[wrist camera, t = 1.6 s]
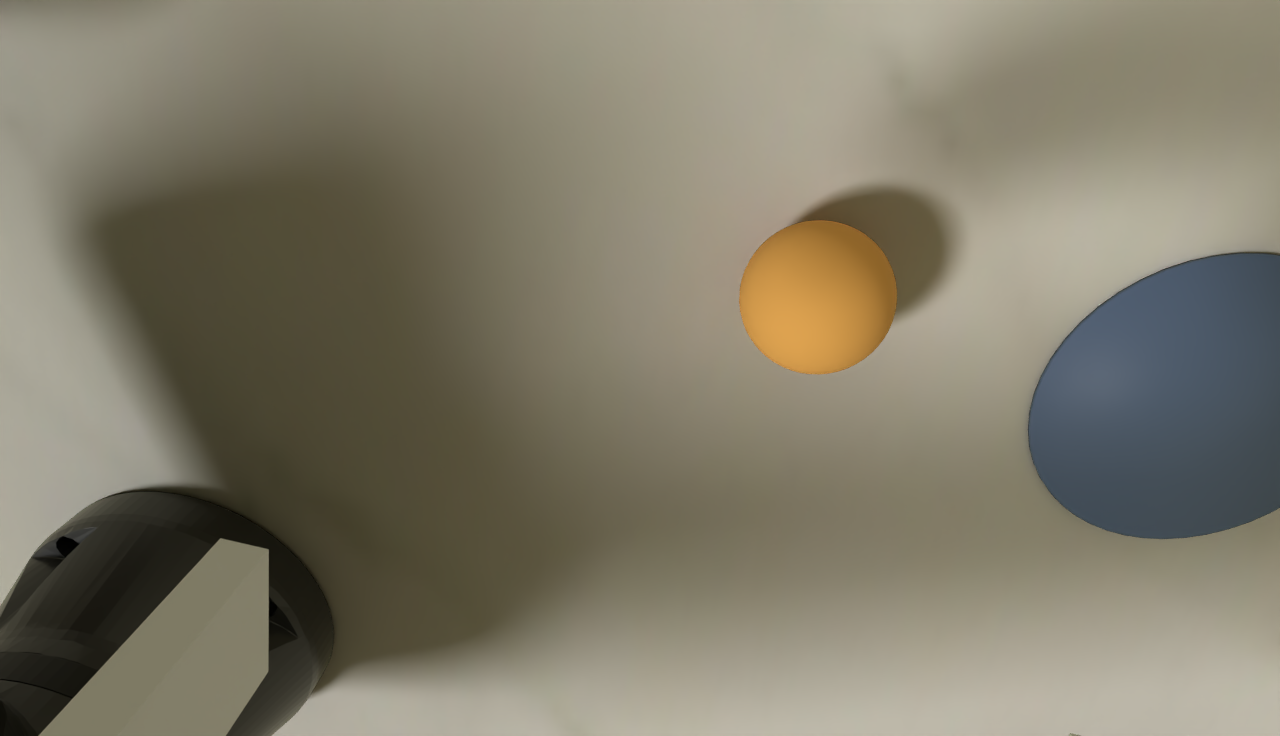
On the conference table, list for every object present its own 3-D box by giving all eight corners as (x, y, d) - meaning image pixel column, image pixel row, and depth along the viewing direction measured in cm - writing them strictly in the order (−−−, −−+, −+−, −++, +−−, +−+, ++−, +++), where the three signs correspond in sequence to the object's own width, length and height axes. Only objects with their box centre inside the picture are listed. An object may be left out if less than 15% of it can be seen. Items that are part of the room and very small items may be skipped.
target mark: (970, 483, 33) (971, 485, 32) (1149, 205, 27) (1152, 206, 27) (1235, 570, 33) (1238, 573, 33) (1463, 318, 28) (1468, 320, 28)
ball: (716, 313, 30) (718, 372, 25) (768, 184, 28) (781, 221, 23) (842, 355, 31) (868, 421, 26) (904, 231, 28) (945, 278, 23)
